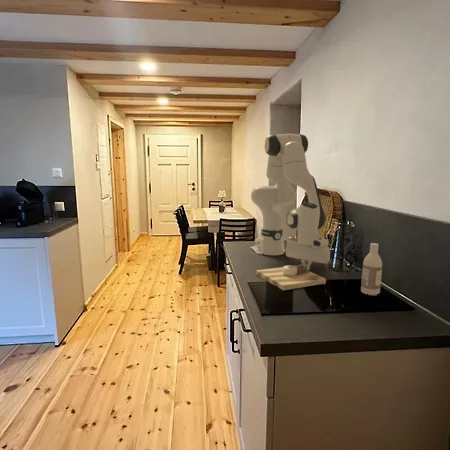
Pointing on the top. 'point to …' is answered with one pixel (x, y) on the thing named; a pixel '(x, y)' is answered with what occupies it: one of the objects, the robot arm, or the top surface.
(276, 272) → the wooden cutting board
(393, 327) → the top surface
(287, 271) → the brown and cream block
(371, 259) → the bath foam
